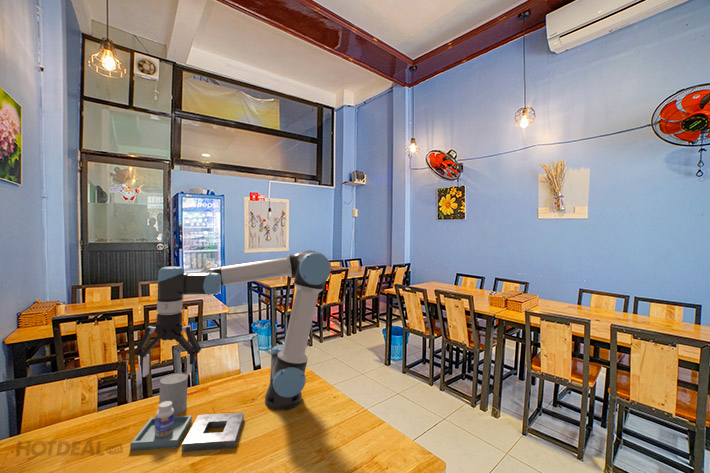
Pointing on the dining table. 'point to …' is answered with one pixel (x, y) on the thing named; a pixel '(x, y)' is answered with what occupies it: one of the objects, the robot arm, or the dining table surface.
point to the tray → (151, 441)
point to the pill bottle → (164, 419)
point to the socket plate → (211, 441)
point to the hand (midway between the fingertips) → (167, 374)
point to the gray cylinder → (174, 391)
